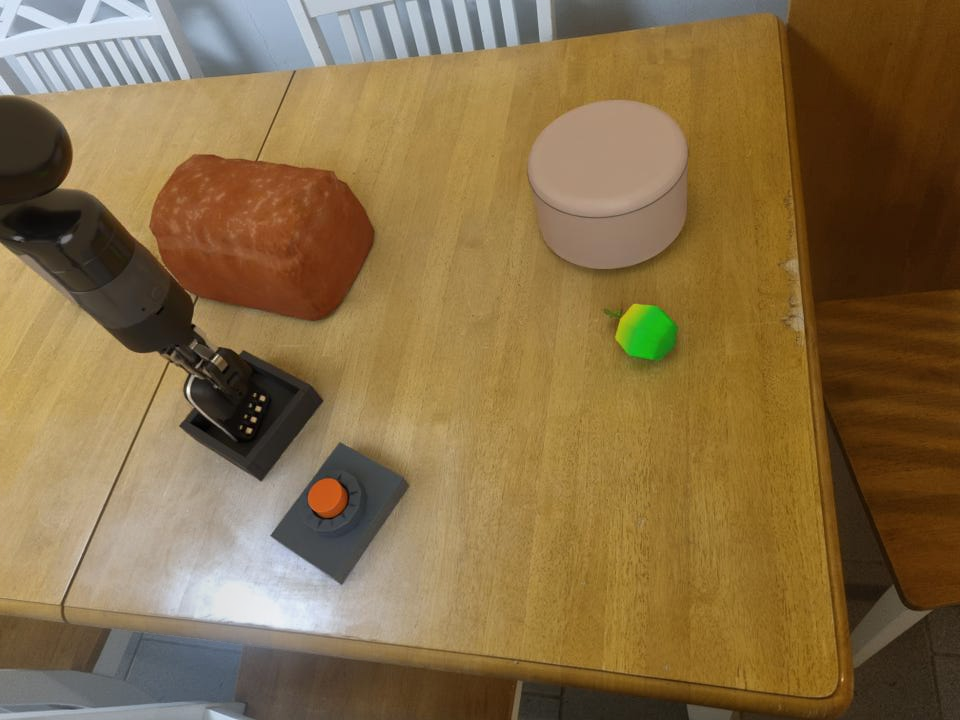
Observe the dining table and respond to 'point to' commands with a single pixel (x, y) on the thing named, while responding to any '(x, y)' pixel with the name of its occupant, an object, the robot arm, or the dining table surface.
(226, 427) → the battery charger
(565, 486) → the dining table surface
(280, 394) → the dock
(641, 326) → the apple
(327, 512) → the power button
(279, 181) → the bread
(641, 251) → the container
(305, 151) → the dining table surface
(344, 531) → the switch box
